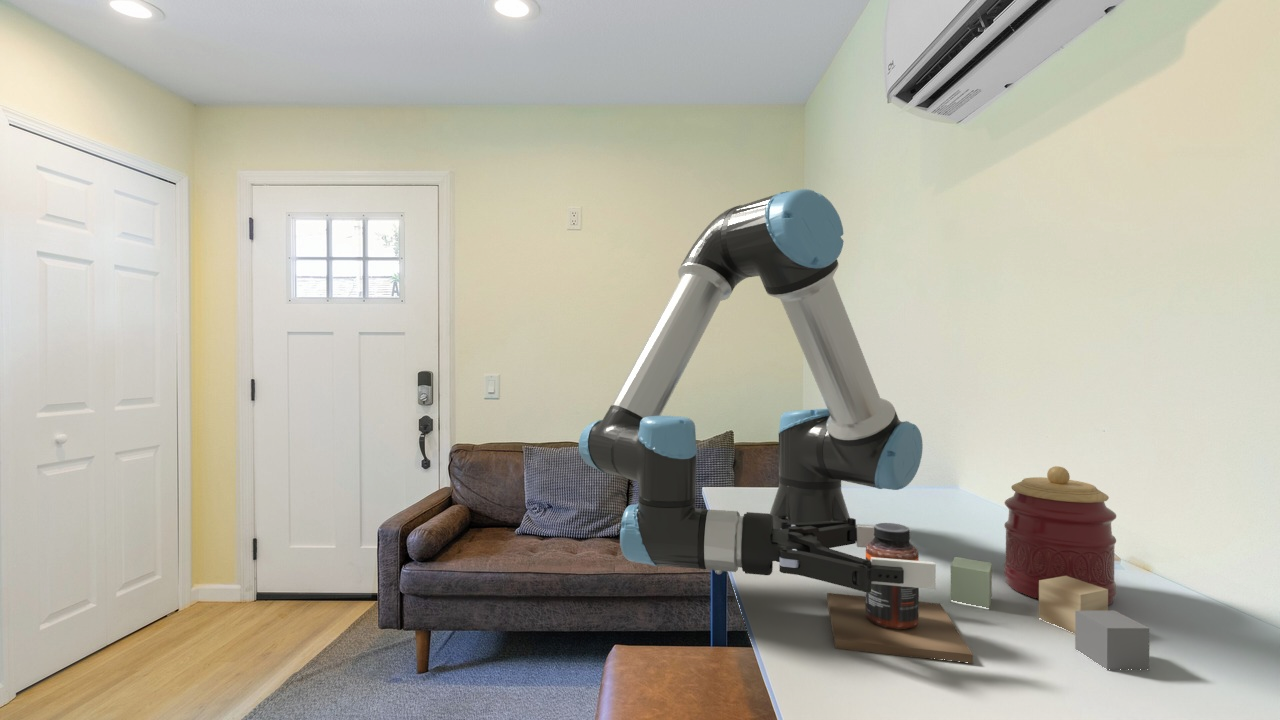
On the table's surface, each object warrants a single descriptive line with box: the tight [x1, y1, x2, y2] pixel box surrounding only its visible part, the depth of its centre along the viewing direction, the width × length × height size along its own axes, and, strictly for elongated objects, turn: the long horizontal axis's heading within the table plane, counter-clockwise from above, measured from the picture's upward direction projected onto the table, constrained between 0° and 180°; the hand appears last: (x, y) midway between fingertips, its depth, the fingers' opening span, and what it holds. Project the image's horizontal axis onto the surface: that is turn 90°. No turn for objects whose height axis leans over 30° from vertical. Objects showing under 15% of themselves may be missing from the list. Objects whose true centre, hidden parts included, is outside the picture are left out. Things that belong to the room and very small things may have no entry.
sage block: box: [949, 556, 993, 609], centre depth 81 cm, size 4×4×5 cm
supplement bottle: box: [865, 522, 920, 629], centre depth 72 cm, size 6×6×11 cm
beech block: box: [1038, 576, 1109, 634], centre depth 74 cm, size 5×5×5 cm
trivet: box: [826, 592, 974, 664], centre depth 72 cm, size 14×14×1 cm
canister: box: [1003, 466, 1117, 606], centre depth 85 cm, size 13×13×18 cm
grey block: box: [1074, 610, 1150, 671], centre depth 65 cm, size 4×4×4 cm
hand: (921, 556), depth 72 cm, fingers open, 13 cm apart
